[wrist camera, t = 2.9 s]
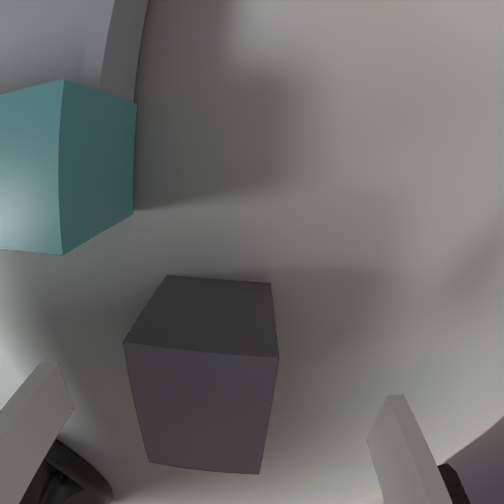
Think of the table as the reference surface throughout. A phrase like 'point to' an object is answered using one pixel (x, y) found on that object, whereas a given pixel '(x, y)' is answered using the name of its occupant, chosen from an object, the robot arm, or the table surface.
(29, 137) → the drawer
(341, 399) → the table surface
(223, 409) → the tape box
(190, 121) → the table surface
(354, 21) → the table surface
